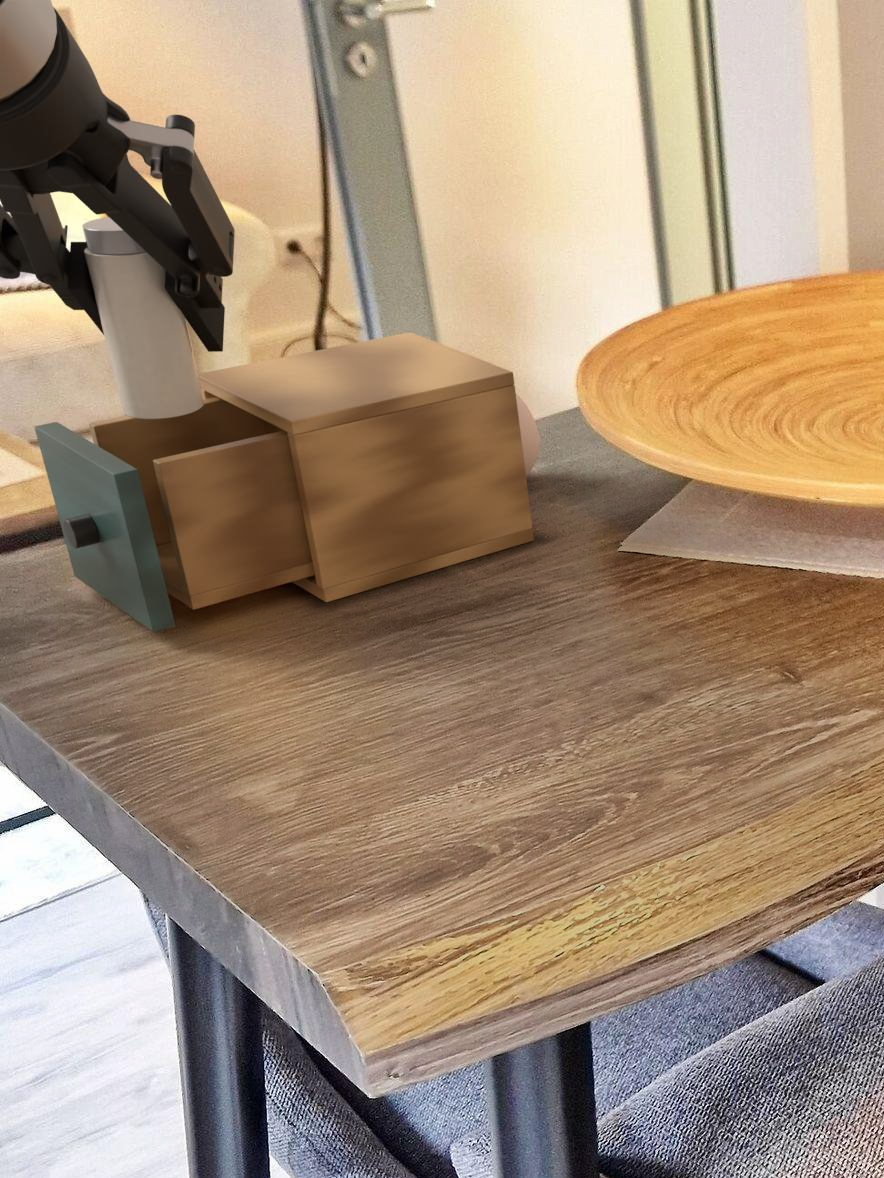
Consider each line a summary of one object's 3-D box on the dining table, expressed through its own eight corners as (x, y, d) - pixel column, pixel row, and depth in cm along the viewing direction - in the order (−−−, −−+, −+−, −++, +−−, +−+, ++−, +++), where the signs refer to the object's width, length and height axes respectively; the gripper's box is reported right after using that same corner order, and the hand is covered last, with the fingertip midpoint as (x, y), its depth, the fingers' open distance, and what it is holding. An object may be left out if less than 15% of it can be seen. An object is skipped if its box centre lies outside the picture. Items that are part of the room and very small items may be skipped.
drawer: (130, 639, 89) (89, 480, 85) (52, 582, 96) (10, 431, 91) (372, 569, 98) (346, 421, 94) (286, 521, 104) (258, 380, 100)
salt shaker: (110, 407, 91) (64, 221, 87) (184, 392, 94) (144, 211, 89) (142, 424, 89) (96, 235, 84) (217, 408, 92) (177, 224, 87)
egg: (559, 481, 114) (548, 384, 111) (502, 502, 111) (489, 402, 107) (510, 466, 116) (497, 370, 113) (453, 486, 113) (438, 387, 110)
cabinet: (326, 602, 96) (290, 421, 91) (232, 546, 103) (194, 374, 98) (534, 540, 105) (513, 371, 100) (435, 492, 112) (410, 331, 107)
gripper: (-266, 118, 69) (0, 394, 91) (178, 120, 71) (331, 389, 93) (-245, -38, 71) (10, 270, 93) (187, -31, 73) (335, 268, 95)
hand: (171, 329), depth 93 cm, fingers closed on salt shaker, 4 cm apart
